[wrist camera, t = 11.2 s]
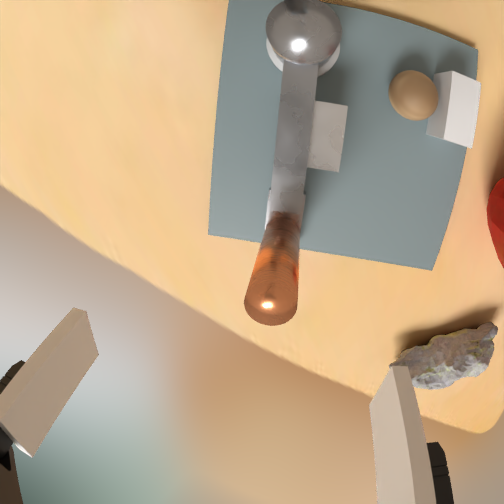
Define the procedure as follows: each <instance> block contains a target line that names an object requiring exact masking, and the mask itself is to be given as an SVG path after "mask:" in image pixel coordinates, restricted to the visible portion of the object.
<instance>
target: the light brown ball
mask: <svg viewBox="0 0 504 504" xmlns="http://www.w3.org/2000/svg"><path fill="white" fill-rule="evenodd" d="M388 95H389V100H390V102H391V105H392V106H393V108H394V109H395V110H396V112H397V113H399V114H400V115H401V116H403V117H404V118H406V119H409V120H414V121H419V120H424V119H427V118H428V117H430V116H431V115H432V114H433V113H434V112H435V110H436V108H437V106H438V100H439V98H438V92H437V89H436V86H435V85H434V83H433V82H432V80H431V79H430V78H429V77H427V76H426V75H425V74H423V73H421V72H418V71H414V70H407V71H403V72H400V73H398V74H397V75H396V76H395V77H394V78H393V79H392V80H391V82H390V85H389V89H388Z"/></svg>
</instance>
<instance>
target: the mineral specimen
mask: <svg viewBox="0 0 504 504" xmlns="http://www.w3.org/2000/svg"><path fill="white" fill-rule="evenodd" d="M497 331H498V328H497V326H495V325H494V324H493V323H492V322H488V323H484V324H482V325H480V326H479V327H478V329H467V328H464V329H462V330H460V331H456V332H452V333H449V334H448V335H437V336H435V337H433V338H431V340H430V341H429V343H428V345H425V346H424V345H423V346H415V347H413V348H411V349H406V350H405V351H402V353H401V355H400V358H398V359H397V360H396V361H395V362H393V363H391V364H390V365H389V368H391V366H408V369H409V373H410V376H411V380H412V384H413V386H414V387H416V388H422V389H441V388H445V387H448V386H450V385H452V384H453V383H454V381H456V380H459V379H460V378H463V377H467V376H468V377H471V376H474V377H477V376H478V375H480V373H482V372H483V371H485V370H486V368H487V367H488V365H489V362H490V359H491V357H492V354H493V351H494V343H493V341H492V340H493V338H494V337H495V335H496V334H497Z"/></svg>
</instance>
